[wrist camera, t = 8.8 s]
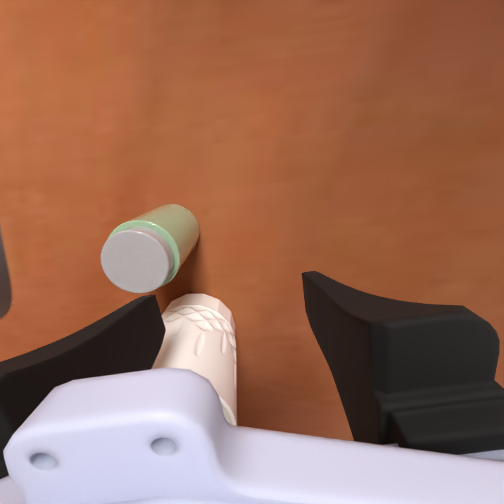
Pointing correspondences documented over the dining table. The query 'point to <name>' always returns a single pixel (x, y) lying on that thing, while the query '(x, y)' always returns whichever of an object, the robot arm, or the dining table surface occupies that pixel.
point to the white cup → (202, 345)
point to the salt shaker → (149, 248)
